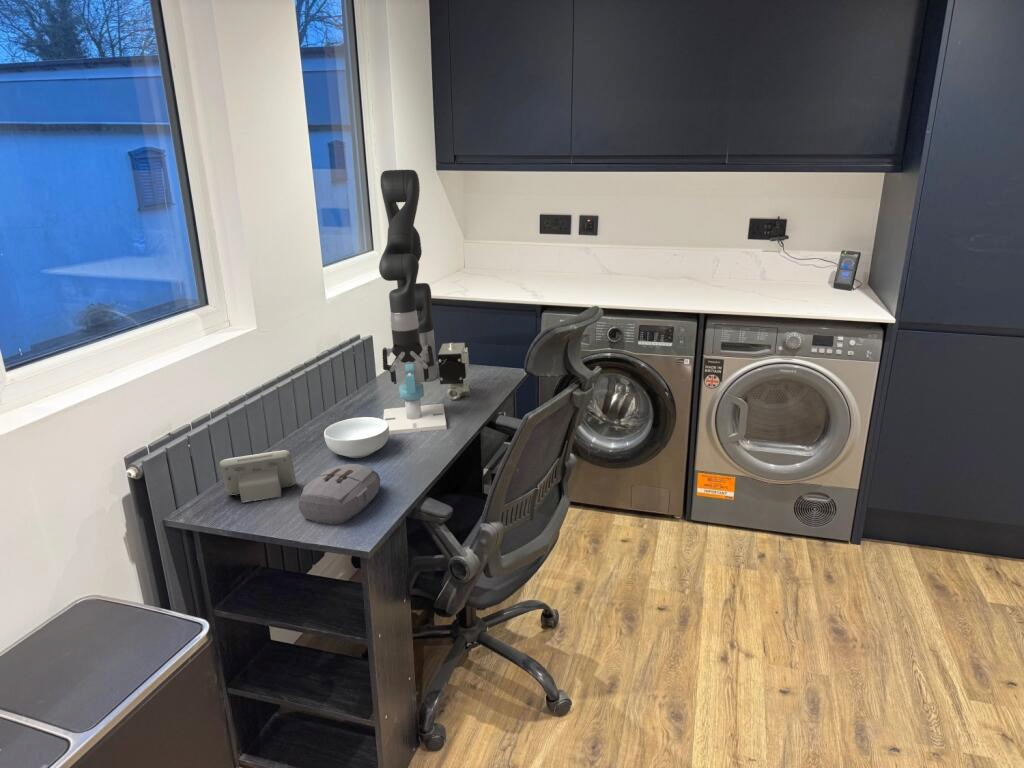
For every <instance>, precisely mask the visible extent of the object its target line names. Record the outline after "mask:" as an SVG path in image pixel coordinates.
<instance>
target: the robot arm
mask: <svg viewBox="0 0 1024 768" xmlns="http://www.w3.org/2000/svg"><path fill="white" fill-rule="evenodd" d="M379 182H380V189H381V190H380V191H381V195H382V199H383V203H384V207H385V212H386V217H387V223H388V228H387V242H386V246H385V249H384V251H383V253H382V255H381V257H380V261H379V265H378V271H379V275H380V276H381V278H382V279H383V280H385V281H387V282H394V281H396V285H397V288H395V289H392V290H390V291H389V293H388V298H389V307H390V329H391V337H392V347H391V348H388V347H383V348H382V370H384V371H388V372H389V373H390V381H391V383H393V384H394V385H397V381H398V380H397V373H396V368H397V367H398V365H399V364H400V363H403V364H404V363H406V364H407V363H408V362H409V363H408V364H413V365H414V375H415V382H417V383H423V382H430V381H434V380H435V379H437V378H438V367H437V355H436V344H435V333H434V331H435V330H434V323H433V310H432V307H433V306H432V305H433V304H432V301H433V300H432V289H431V286H430V284H429V283H426V282H419V283H418V282H417V278H418V275H419V267H420V263H419V262H420V260H421V258H422V255H423V254H422V252H423V251H422V245H421V244H422V243H421V236H420V233H419V232H418V230H417V228H416V227H415V226H414V225H415V219H416V216H417V211H418V204H419V200H420V192H421V191H420V190H421V189H420V188H421V187H420V179H419V174H418V173H417V171H416V170H414V169H389V170H384V171H382V172H381V175H380V181H379ZM398 203H404V204H403V205H402V206H401V208H399V206H398ZM420 311H421V312H422V313H421V314H420V315H419V316H418V313H417V312H420ZM391 353H392V354H393V356H395V357H394V359H393V362H392V363H391V365H390V364H388V357H390V355H391Z"/></svg>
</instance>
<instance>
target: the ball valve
mask: <svg viewBox="0 0 1024 768" xmlns="http://www.w3.org/2000/svg"><path fill="white" fill-rule="evenodd" d="M469 356H470V355H469V348H468V347H466V342H464V341H463V342H461V341H459V342H442V344H441V347H440V349H439V351H438V354H437V363H438V374H439V376H438V377H439V384H440V385H448V387H447V388H446V395H447V398H449V399H450V400H454V401H456V400H458V399H460V397H466V396H470V393H471V392H470V390H471V389H470V387H471V386H470V382H465V379H466V378H467V376H468V371H469V368H470V358H469Z"/></svg>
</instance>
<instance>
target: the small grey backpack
mask: <svg viewBox="0 0 1024 768" xmlns="http://www.w3.org/2000/svg"><path fill="white" fill-rule="evenodd" d="M380 483H381V478H380V475H379V474H378V472H377V471H376V470H375V469H374V468H372V467H369V466H365V465H361V464H359V463H349V464H347V463H346V464H341V465H338V466H334V467H332V468H329V469H327V470H325V471H323V472H322V473H321V474H319V475H317V477H316V478H314V479H312V480H311V481H310V482H308V483H307V484H306V485H305V486H304V487H303V488H302V493H301V495H300V498H299V500H298V508H299V511H300V514H301V515H302V516H303V517H304V518H305V519H307V520H308V519H309V521H311V520H313V521H312V522H314V521H318V522H317V523H320V522H322V523H321V524H327V523H331V524H330V525H337V524H343V523H345V522H346V521H348V520H350V519H352V518H353V517H355V516H356V515H358V514H359V513H360V512H361V511H362V510H365V508H366V507H367V506H368V505H369V503H370V502H372V500H373V499H374V498H375V497H376V496H377V494H378V493H379V492H380V491H379V490H380Z"/></svg>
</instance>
